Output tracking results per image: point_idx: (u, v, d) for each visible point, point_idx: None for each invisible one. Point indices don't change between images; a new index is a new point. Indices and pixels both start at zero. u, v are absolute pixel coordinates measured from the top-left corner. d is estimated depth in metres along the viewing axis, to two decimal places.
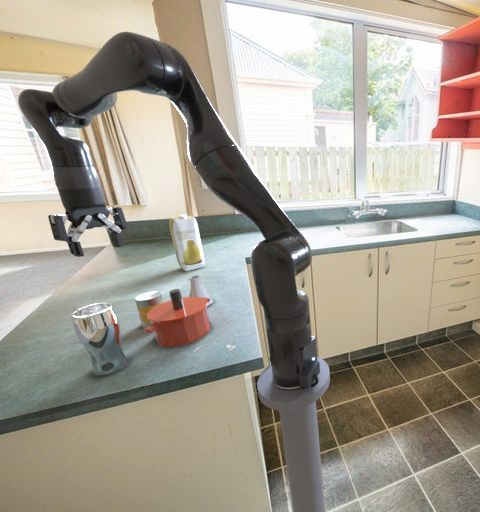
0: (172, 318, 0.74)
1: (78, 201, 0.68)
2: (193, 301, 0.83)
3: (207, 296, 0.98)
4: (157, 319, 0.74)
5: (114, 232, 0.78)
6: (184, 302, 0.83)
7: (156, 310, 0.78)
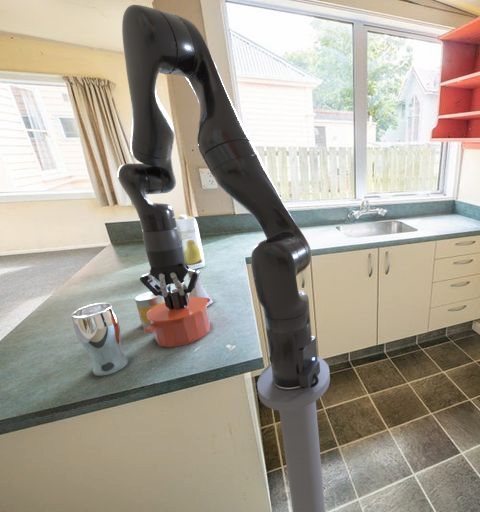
0: (172, 318, 0.74)
1: (150, 262, 0.72)
2: (193, 301, 0.83)
3: (207, 296, 0.98)
4: (157, 319, 0.74)
5: None
6: None
7: (156, 310, 0.78)
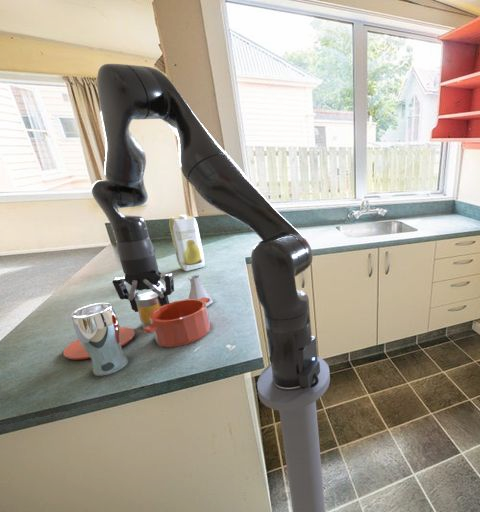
0: (88, 355, 0.71)
1: (123, 269, 0.79)
2: None
3: (207, 296, 0.98)
4: (72, 356, 0.71)
5: None
6: None
7: (76, 344, 0.75)
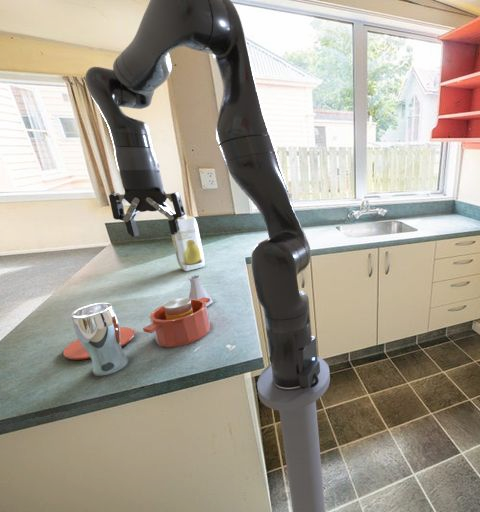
0: (88, 355, 0.71)
1: (123, 182, 0.67)
2: None
3: (207, 296, 0.98)
4: (72, 356, 0.71)
5: None
6: None
7: (76, 344, 0.75)
